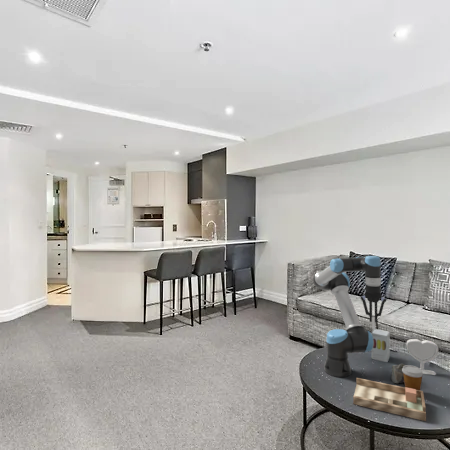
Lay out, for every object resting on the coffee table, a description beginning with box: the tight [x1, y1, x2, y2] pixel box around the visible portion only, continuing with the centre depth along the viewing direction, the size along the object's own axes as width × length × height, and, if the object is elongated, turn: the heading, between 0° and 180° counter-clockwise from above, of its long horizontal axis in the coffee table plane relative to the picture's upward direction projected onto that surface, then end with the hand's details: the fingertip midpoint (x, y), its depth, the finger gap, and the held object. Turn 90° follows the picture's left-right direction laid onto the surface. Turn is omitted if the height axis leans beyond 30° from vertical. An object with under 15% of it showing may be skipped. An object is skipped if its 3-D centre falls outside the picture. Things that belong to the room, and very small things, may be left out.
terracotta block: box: [404, 386, 416, 403], centre depth 153 cm, size 4×4×4 cm
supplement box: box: [371, 328, 391, 363], centre depth 203 cm, size 10×9×17 cm
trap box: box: [352, 377, 427, 422], centre depth 155 cm, size 30×16×6 cm, turn 62°
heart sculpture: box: [406, 338, 439, 376], centre depth 185 cm, size 16×5×18 cm, turn 66°
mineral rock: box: [390, 363, 406, 385], centre depth 174 cm, size 13×11×10 cm
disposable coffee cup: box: [402, 364, 424, 391], centre depth 164 cm, size 10×10×12 cm
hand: (373, 328), depth 172 cm, fingers closed
